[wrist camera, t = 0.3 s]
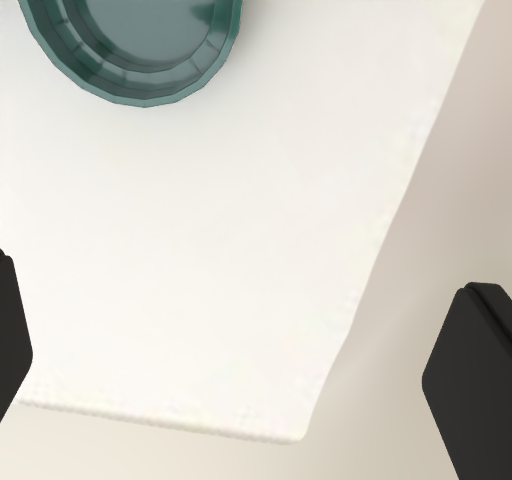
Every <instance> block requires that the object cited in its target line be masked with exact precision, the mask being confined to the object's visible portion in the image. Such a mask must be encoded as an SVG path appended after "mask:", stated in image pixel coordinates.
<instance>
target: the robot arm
mask: <svg viewBox="0 0 512 480" xmlns="http://www.w3.org/2000/svg"><path fill="white" fill-rule="evenodd" d="M32 359H33V351H32V346H31V341H30V337H29V332H28V328H27V323H26V318H25V314H24V309H23V305H22V300H21V296H20V291H19V286H18V282H17V277H16V273H15V268H14V263H13V260H12V258H11V257H10V256H6V255H5V254H4V252H3V251H2V249H0V422H1V420H2V419H3V417H4V415H5V413H6V411H7V409H8V407H9V406H10V404H11V402H12V400H13V398H14V397H15V395H16V393H17V391H18V389H19V387H20V386H21V384H22V382H23V380H24V378H25V376H26V375H27V373H28V371H29V369H30V367H31V363H32ZM422 389H423V392H424V395H425V397H426V400H427V402H428V405H429V407H430V409H431V412H432V414H433V417H434V419H435V422H436V424H437V427H438V429H439V432H440V434H441V436H442V439H443V441H444V443H445V446H446V449H447V451H448V454H449V456H450V458H451V461H452V463H453V466H454V468H455V471H456V473H457V476H458V478H459V480H512V300H511V298H510V297H509V296H508V295H507V293H506V292H505V291H504V289H503V288H502V287H501V286H500V285H497V284H491V283H476V282H470V283H468V284H466V286H465V287H464V288H460V289H459V290H457V292H456V294H455V297H454V299H453V302H452V304H451V306H450V309H449V311H448V314H447V316H446V318H445V321H444V323H443V326H442V329H441V331H440V333H439V336H438V338H437V341H436V343H435V346H434V348H433V350H432V353H431V355H430V358H429V360H428V363H427V365H426V368H425V370H424V372H423V376H422Z"/></svg>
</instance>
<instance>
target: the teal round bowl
mask: <svg viewBox="0 0 512 480" xmlns="http://www.w3.org/2000/svg"><path fill="white" fill-rule="evenodd" d="M18 1H19V4H20V7H21V9H22V12H23V14H24V17H25V19H26V22H27V25H28V27H29V30H30V32H31V34H32V35H33V37H34V38H35V39H36V41H37V42H38V44H39V45H40V46H41V48H42V49H43V51H44V52H45V53H46V55H47V56H48V58H49V59H50V60H51V62H52V63H53V64H54V66H55V67H57V68H58V69H59V70H60V71H61V72H63V73H64V74H65V75H66V76H67V77H69V78H70V79H71V80H72V81H73V82H75V83H76V84H77V85H78V86H79V87H80V88H82V89H84V90H86V91H88V92H90V93H92V94H94V95H97V96H99V97H101V98H103V99H105V100H107V101H110V102H112V103H115V104H122V105H129V106H136V107H143V108H147V107H153V106H159V105H164V104H170V103H175V102H178V101H180V100H181V99H183V98H185V97H187V96H189V95H190V94H192V93H194V92H196V91H198V90H199V89H201V88H203V87H204V86H205V85H206V84H207V83H208V81H209V80H210V79H211V78H212V77H213V76H214V75H215V74H216V72H217V71H218V70H219V69H220V68H221V67H222V66H223V65H224V63H225V62H226V59H227V57H228V55H229V53H230V50H231V48H232V46H233V43H234V41H235V39H236V37H237V34H238V32H239V28H240V21H241V13H242V5H243V0H18Z"/></svg>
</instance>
